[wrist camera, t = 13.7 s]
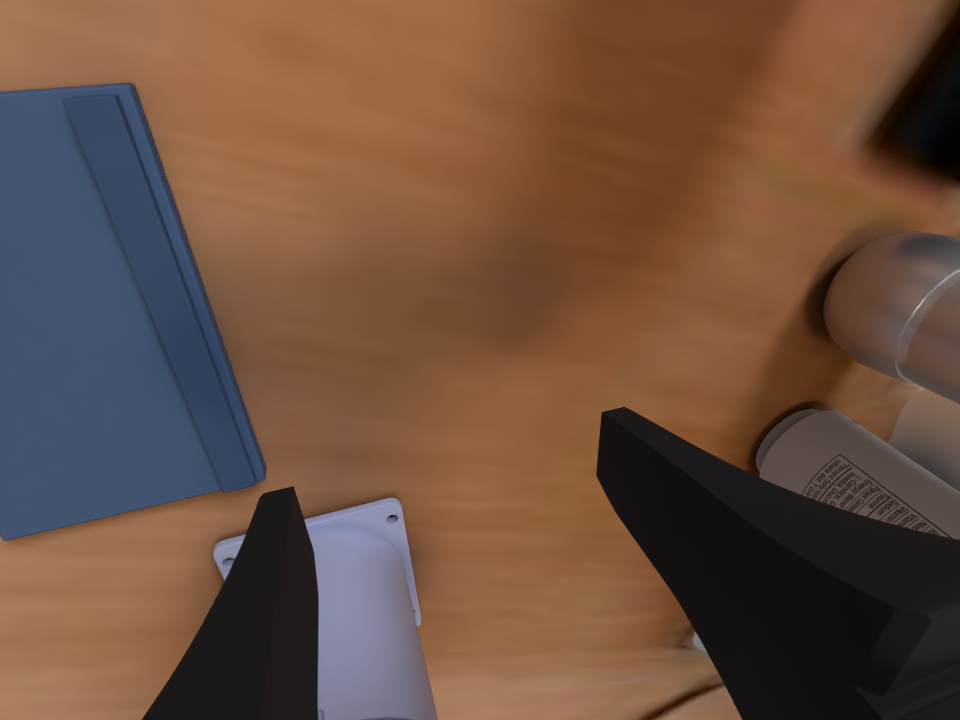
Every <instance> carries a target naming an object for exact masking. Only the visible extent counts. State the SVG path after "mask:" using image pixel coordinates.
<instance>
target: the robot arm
mask: <svg viewBox="0 0 960 720" xmlns="http://www.w3.org/2000/svg"><path fill="white" fill-rule="evenodd" d="M596 476H597V478H598V480H599V482H600V484H601V486H602V488H603V490H604V492H605V493H606V495H607V497H608V499H609V501H610V503H611V505H612V506H613V508H614V510H615V512H616V513H617V515H618V516H619V518H620V519H621V521H622V522H623V523H624V525H625V526H626V528H627V529H628V531H629V532H630V533H631V535H632V536H633V538H634V539H635V540H636V542H637V543H638V545H639V546H640V547H641V549H642V550H643V552H644V553H645V555H646V556H647V557H648V559H649V560H650V562H651V563H652V564H653V566H654V567H655V569H656V570H657V571H658V573H659V574H660V576H661V577H662V578H663V580H664V581H665V583H666V584H667V585H668V587H669V588H670V590H671V591H672V593H673V594H674V596H675V597H676V599H677V600H678V602H679V604H680V605H681V607H682V609H683V610H684V612H685V614H686V616H687V617H688V619H689V621H690V622H691V624H692V626H693V628H694V629H695V631H696V633H697V635H698V636H699V638H700V640H701V642H702V643H703V645H704V647H705V649H706V651H707V653H708V655H709V656H710V658H711V660H712V662H713V664H714V666H715V667H716V669H717V671H718V673H719V675H720V677H721V679H722V680H723V682H724V684H725V686H726V688H727V690H728V692H729V694H730V696H731V698H732V700H733V702H734V704H735V706H736V708H737V710H738V712H739V714H740V716H741V718H742V720H960V540H958V539H953V538H949V537H944V536H939V535H935V534H930V533H925V532H921V531H917V530H913V529H909V528H906V527H902V526H898V525H894V524H891V523H887V522H883V521H879V520H876V519H873V518H869V517H866V516H862V515H859V514H856V513H853V512H849V511H846V510H843V509H841V508H838V507H835V506H832V505H829V504H826V503H823V502H820V501H817V500H814V499H811V498H809V497H806V496H803V495H800V494H798V493H795V492H793V491H790V490H788V489H786V488H783V487H781V486H778V485H776V484H773V483H771V482H768V481H766V480H764V479H761V478H759V477H757V476H755V475H752V474H750V473H748V472H746V471H744V470H742V469H740V468H738V467H736V466H734V465H732V464H729V463H727V462H725V461H723V460H721V459H719V458H717V457H715V456H713V455H712V454H710V453H708V452H706V451H704V450H702V449H700V448H698V447H696V446H695V445H693V444H691V443H689V442H687V441H685V440H684V439H682V438H680V437H678V436H676V435H675V434H673V433H671V432H669V431H668V430H666V429H664V428H662V427H660V426H659V425H657V424H655V423H653V422H652V421H650V420H648V419H646V418H644V417H643V416H641V415H639V414H637V413H635V412H633V411H631V410H630V409H628V408H626V407H622V408H618V409H614V410H609V411H605V412H602V415H601V427H600V438H599V450H598V461H597V473H596ZM391 515H395V516H393V517H389V516H391ZM213 558H214V560H215V562H216V564H217V566H218V568H219V570H220V573H221V575H222V577H223V579H224V581H225V582H224V584H223V586H222V588H221V590H220V592H219V594H218V595H217V597H216V599H215V601H214V603H213V605H212V607H211V609H210V610H209V612H208V614H207V616H206V618H205V620H204V622H203V624H202V625H201V627H200V629H199V631H198V633H197V634H196V636H195V638H194V639H193V641H192V643H191V645H190V646H189V648H188V650H187V651H186V653H185V655H184V656H183V658H182V660H181V661H180V663H179V664H178V666H177V668H176V669H175V671H174V672H173V674H172V675H171V677H170V679H169V680H168V682H167V683H166V685H165V686H164V688H163V689H162V691H161V692H160V694H159V695H158V697H157V698H156V700H155V701H154V702H153V704H152V705H151V707H150V708H149V710H148V711H147V713H146V714H145V716H144V717H143V719H142V720H438V717H437V713H436V708H435V704H434V699H433V695H432V690H431V686H430V681H429V677H428V672H427V668H426V663H425V659H424V654H423V650H422V645H421V641H420V636H419V632H418V628H417V627H418V626H419V625H420V624H421V621H422V620H421V614H420V608H419V603H418V597H417V591H416V586H415V580H414V574H413V569H412V563H411V557H410V552H409V546H408V540H407V535H406V529H405V523H404V518H403V512H402V507H401V503H400V501H399V500H398V499H396V498H387V499H383V500H379V501H375V502H371V503H367V504H363V505H359V506H355V507H351V508H347V509H344V510H340V511H336V512H332V513H328V514H324V515H320V516H316V517H312V518H308V519H304V518H303V515H302V512H301V509H300V505H299V502H298V499H297V496H296V493H295V490H294V486H293V487H288V488H284V489H280V490H276V491H272V492H268V493H263V495H262V496H261V497H260V498H259V501H258V504H257V507H256V510H255V512H254V515H253V518H252V520H251V523H250V525H249V528H248V530H247V533H246V534H245V535H241V536H238V537H234V538H230V539H226V540H222V541H220V542H218V543H217V544H215V546H214V548H213ZM227 558H233V559H227Z"/></svg>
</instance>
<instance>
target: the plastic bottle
mask: <svg viewBox="0 0 960 720" xmlns="http://www.w3.org/2000/svg"><path fill="white" fill-rule="evenodd" d="M823 315H824V321H825V324H826V326H827V329H828V331H829V334H830V336H831V338H832V340H833V341H834V342H835V343H836V344H837V345H838V346H839V347H840V348H841V349H842V350H844V351H845V352H846V353H847V354H849V355H850V356H851V357H852V358H853V359H855V360H856V361H857V362H858V363H860V364H862V365H865V366H867V367H869V368H872V369H874V370H876V371H879V372H881V373H884V374H886V375H888V376H891V377H894V378H897V379H900V380H903V381H906V382H909V383H915V384H917V385H919V386H922V387H924V388H926V389H928V390H931V391H932V392H935V393H937V394H939V395H941V396H943V397H946V398H948V399H950V400H952V401H954V402H957V403H959V404H960V240H959V239H957V238H954V237H951V236H947V235H940V234H933V233H925V232H918V231H904V232H900V233H896V234H892V235H888V236H885V237H881V238H878V239H876V240H873V241H871V242H869V243H868V244H866V245H865V246H863V247H861V248H860V249H859V250H858V251H856V252H855V253H854V254H853V255H852V256H851V257H850V258H849V259H848V260H847V261H846V262H845V263H844V264H843V266H842V267H841V268H840V270H839V271H838V272H837V274H836V275H835V277H834V279H833V281H832V282H831V284H830V286H829V289H828V291H827V294H826V297H825V302H824V310H823Z"/></svg>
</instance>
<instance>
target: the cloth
mask: <svg viewBox="0 0 960 720" xmlns="http://www.w3.org/2000/svg"><path fill="white" fill-rule="evenodd" d="M265 479H266V466H265V463H264V460H263V457H262V454H261V452H260V449H259V446H258V443H257V440H256V437H255V434H254V431H253V428H252V425H251V422H250V420H249V417H248V414H247V411H246V408H245V405H244V402H243V399H242V396H241V393H240V390H239V388H238V385H237V382H236V379H235V376H234V373H233V370H232V367H231V364H230V361H229V359H228V356H227V353H226V350H225V347H224V344H223V341H222V338H221V335H220V332H219V329H218V327H217V324H216V321H215V318H214V315H213V312H212V309H211V306H210V303H209V300H208V297H207V295H206V292H205V289H204V286H203V283H202V280H201V277H200V274H199V271H198V268H197V265H196V263H195V260H194V257H193V254H192V251H191V248H190V245H189V242H188V239H187V236H186V233H185V231H184V228H183V225H182V222H181V219H180V216H179V213H178V210H177V207H176V204H175V201H174V199H173V196H172V193H171V190H170V187H169V184H168V181H167V178H166V175H165V172H164V170H163V167H162V164H161V161H160V158H159V155H158V152H157V149H156V146H155V143H154V140H153V138H152V135H151V132H150V129H149V126H148V123H147V120H146V117H145V114H144V111H143V108H142V106H141V103H140V100H139V97H138V94H137V91H136V88H135V86H134V84H132V83H124V84H110V85H96V86H82V87H68V88H53V89H39V90H25V91H11V92H0V536H1V538H2V539H3V540H4V541H7V540H11V539H15V538H20V537H24V536H28V535H33V534H37V533H41V532H45V531H50V530H54V529H58V528H62V527H67V526H71V525H75V524H79V523H84V522H88V521H92V520H96V519H101V518H105V517H109V516H114V515H118V514H122V513H126V512H131V511H135V510H139V509H143V508H148V507H152V506H156V505H160V504H165V503H169V502H173V501H177V500H182V499H186V498H190V497H194V496H199V495H203V494H207V493H212V492H216V491H220V490H223V492H229V491H234V490H238V489H242V488H246V487H250V486H255V485H256V483H257V482H258V481H263V480H265Z"/></svg>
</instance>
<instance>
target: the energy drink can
mask: <svg viewBox="0 0 960 720" xmlns="http://www.w3.org/2000/svg"><path fill="white" fill-rule="evenodd" d="M756 466H757V468H758V470H759V472H760V478H761V479H764V480H766V481H768V482H771V483H773V484H776V485H778V486H781V487H783V488H786V489H788V490H790V491H793V492H795V493H798V494H800V495H803V496H806V497H809V498H811V499H814V500H817V501H820V502H823V503H826V504H829V505H832V506H835V507H838V508H841V509H843V510H846V511H849V512H853V513H856V514H859V515H862V516H866V517H869V518H873V519H876V520H879V521H883V522H887V523H891V524H894V525H898V526H902V527H906V528H909V529H913V530H917V531H921V532H925V533H930V534H935V535H939V536H944V537H949V538H953V539H958V540H960V492H958V491H957V490H955V489H954V488H952V487H951V486H949V485H948V484H946V483H945V482H943V481H942V480H940V479H939V478H937V477H936V476H934V475H933V474H931V473H930V472H929V471H927V470H926V469H924V468H923V467H921V466H920V465H918V464H917V463H915V462H914V461H912V460H911V459H909V458H908V457H906V456H905V455H903V454H902V453H900V452H899V451H897V450H896V449H894V448H893V447H891V446H890V445H888V444H887V443H885V442H884V441H882V440H881V439H879V438H878V437H876V436H875V435H874V434H872V433H871V432H869V431H868V430H866V429H865V428H863V427H862V426H860V425H859V424H857V423H856V422H854V421H853V420H851V419H850V418H848V417H847V416H845V415H844V414H842V413H840V412H838V411H832V410H830V411H820V410H817V409H806V410H802V411H798V412H796V413H794V414H792V415H790V416H788V417H787V418H785V419H783V420H782V421H781V422H780V423H778V424H777V425H776V426H775V427H774V428H773V429H772V430H771V431H770V432H769V433H768V434H767V436H766V437H765V438H764V440H763V441H762V443H761V445H760V447H759V449H758V452H757V455H756Z"/></svg>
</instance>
